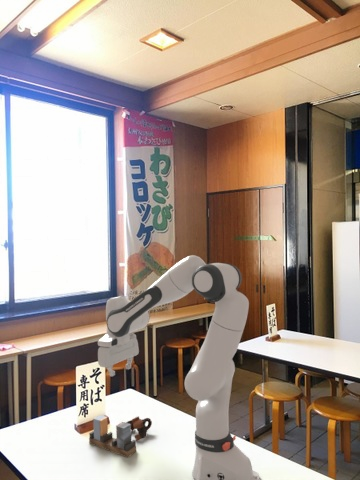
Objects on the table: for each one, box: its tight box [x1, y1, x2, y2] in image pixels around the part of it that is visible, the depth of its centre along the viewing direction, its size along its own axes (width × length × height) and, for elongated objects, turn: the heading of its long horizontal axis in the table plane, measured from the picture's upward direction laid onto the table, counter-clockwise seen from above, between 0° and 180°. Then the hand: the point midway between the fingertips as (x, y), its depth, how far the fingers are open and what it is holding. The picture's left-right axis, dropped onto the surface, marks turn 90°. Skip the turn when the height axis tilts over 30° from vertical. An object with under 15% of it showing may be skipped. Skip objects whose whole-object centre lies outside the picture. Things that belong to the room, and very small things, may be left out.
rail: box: [88, 421, 137, 458], centre depth 155 cm, size 20×5×10 cm, turn 56°
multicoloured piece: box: [92, 414, 109, 441], centre depth 158 cm, size 4×4×8 cm
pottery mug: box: [125, 416, 153, 442], centre depth 165 cm, size 12×10×8 cm
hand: (120, 372), depth 158 cm, fingers open, 8 cm apart
